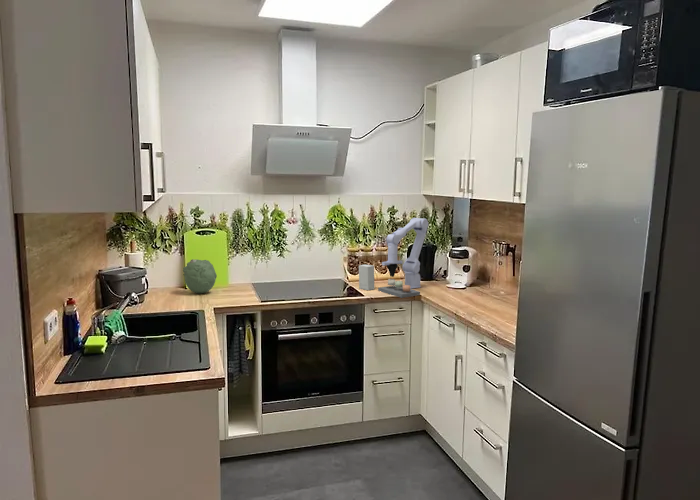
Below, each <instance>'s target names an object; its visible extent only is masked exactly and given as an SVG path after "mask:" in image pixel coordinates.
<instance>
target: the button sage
mask: <svg viewBox="0 0 700 500" xmlns="http://www.w3.org/2000/svg"><path fill="white" fill-rule="evenodd" d="M403 285H404V282H403V281H401V280H397V281H396V280H395V287H403Z"/></svg>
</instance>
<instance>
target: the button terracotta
mask: <svg viewBox="0 0 700 500" xmlns="http://www.w3.org/2000/svg"><path fill="white" fill-rule="evenodd" d="M403 291H405V292H409V291H410V285H405V284H403Z"/></svg>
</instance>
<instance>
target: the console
mask: <svg viewBox="0 0 700 500" xmlns="http://www.w3.org/2000/svg"><path fill="white" fill-rule="evenodd" d="M377 291H378V292H380V291H381V293H384V294H387V293H388V294H387V295H390V294H391V296H394V297H398V298H401V299H403V298H404V299H405V298H410V297H416V296H421V291H420V290H419V291H418V290H415V289H413V288H412V289H410V291H409V292H405V291H403V287H395V285H386V286H380V287H379V286H378V288H377Z"/></svg>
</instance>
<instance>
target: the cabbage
mask: <svg viewBox="0 0 700 500" xmlns="http://www.w3.org/2000/svg"><path fill="white" fill-rule="evenodd" d="M182 269H183V270H182V271H183V273H184V274H183V275H182V276H183V277H184V283H185V285H186V287H187V288H188V289H189V291H191V292H192V293H195V294H206V293H207V292H209V291H210V290H212V288H213V287H214V286H215V283H216V280H217V278H218V277H217V272H216V269H215V267H214V265H213V264H212V263H211V261H209V260H207V259H204V260H202V259H190V261H189V262H187V263H186V266H184V267H182Z"/></svg>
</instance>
